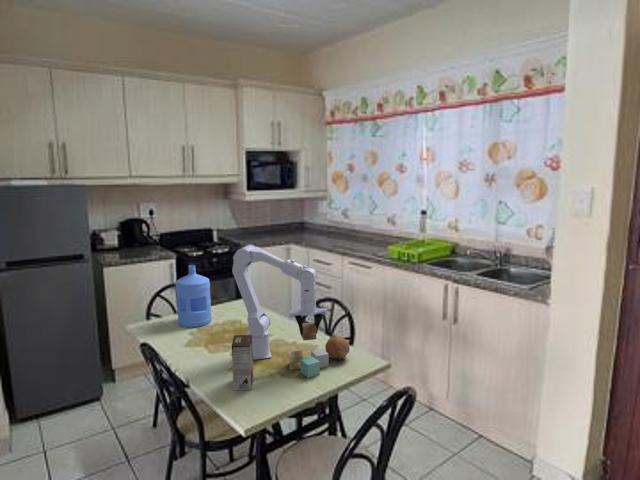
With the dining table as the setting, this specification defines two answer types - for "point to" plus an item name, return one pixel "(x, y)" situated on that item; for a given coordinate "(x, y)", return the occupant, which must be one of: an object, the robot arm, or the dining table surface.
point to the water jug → (193, 300)
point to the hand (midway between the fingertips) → (308, 333)
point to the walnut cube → (309, 331)
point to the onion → (337, 347)
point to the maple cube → (295, 359)
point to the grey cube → (321, 357)
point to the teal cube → (310, 367)
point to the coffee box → (242, 362)
